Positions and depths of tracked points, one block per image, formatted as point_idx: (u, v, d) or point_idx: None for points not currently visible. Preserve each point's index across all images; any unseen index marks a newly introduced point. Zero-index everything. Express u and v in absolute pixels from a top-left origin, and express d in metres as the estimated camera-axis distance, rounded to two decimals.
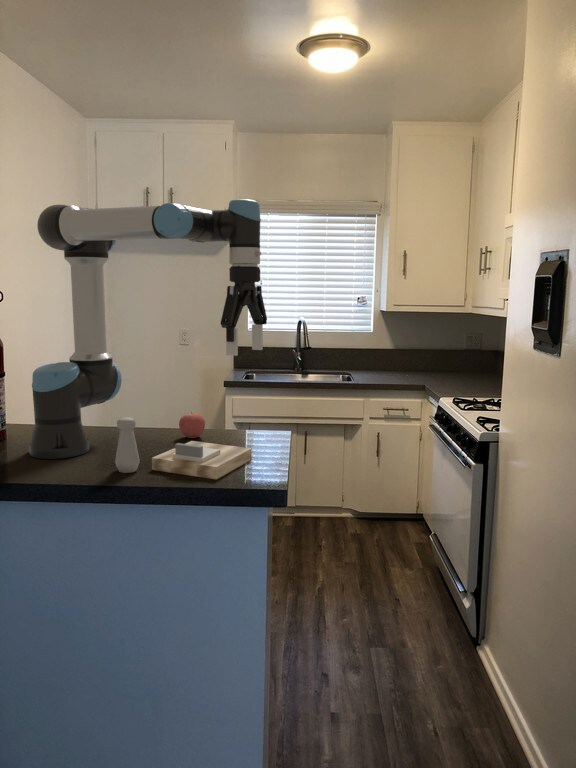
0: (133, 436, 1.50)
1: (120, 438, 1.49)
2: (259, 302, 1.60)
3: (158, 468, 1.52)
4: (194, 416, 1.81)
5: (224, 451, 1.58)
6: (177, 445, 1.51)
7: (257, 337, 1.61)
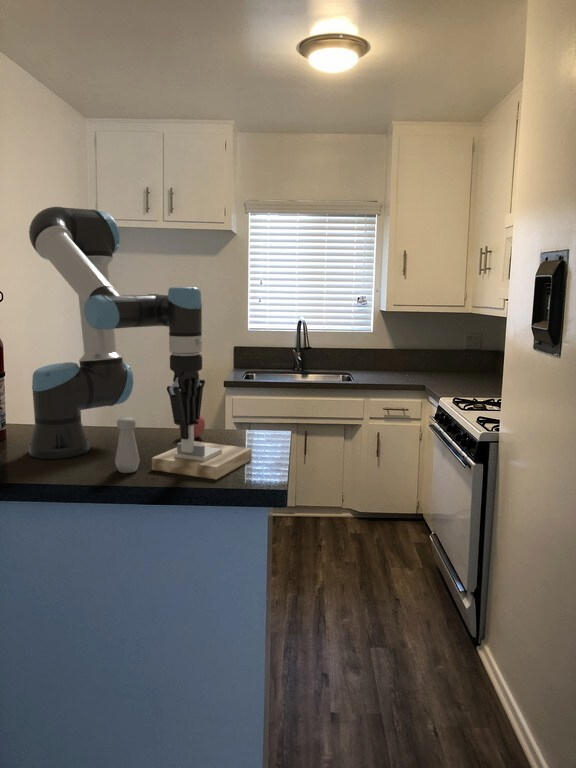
0: (133, 436, 1.50)
1: (120, 438, 1.49)
2: (197, 395, 1.51)
3: (158, 468, 1.52)
4: None
5: (224, 451, 1.58)
6: (179, 444, 1.52)
7: None
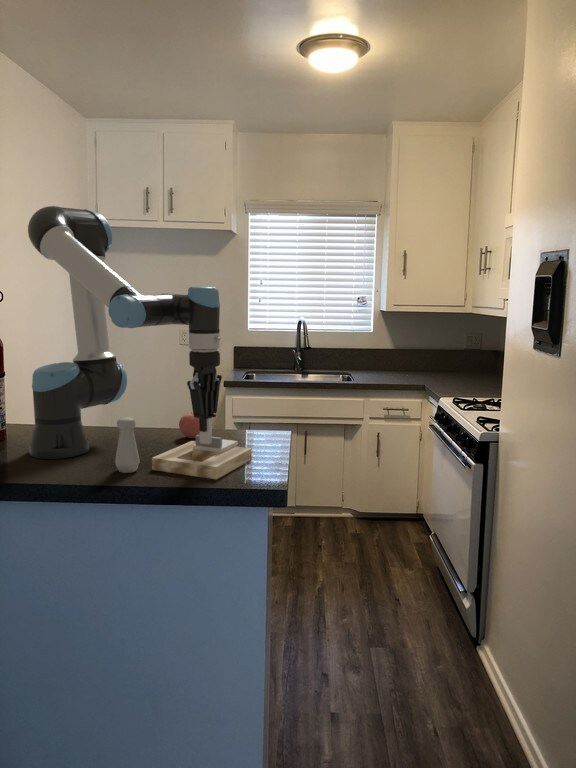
0: (133, 436, 1.50)
1: (120, 438, 1.49)
2: (215, 390, 1.59)
3: (158, 468, 1.52)
4: None
5: (224, 451, 1.58)
6: (197, 437, 1.59)
7: None
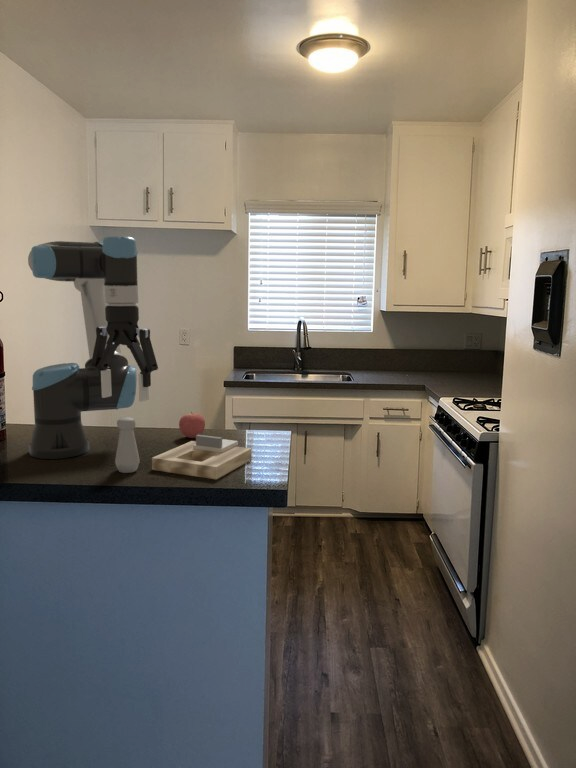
0: (133, 436, 1.50)
1: (120, 438, 1.49)
2: None
3: (158, 468, 1.52)
4: (194, 416, 1.81)
5: (224, 451, 1.58)
6: (197, 436, 1.60)
7: None
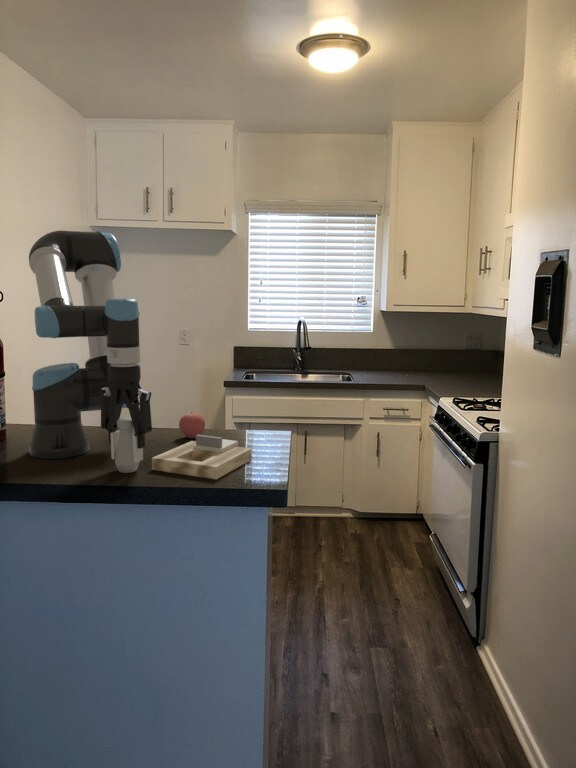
0: None
1: (120, 438, 1.49)
2: None
3: (158, 468, 1.52)
4: (194, 416, 1.81)
5: (224, 451, 1.58)
6: (197, 436, 1.60)
7: None
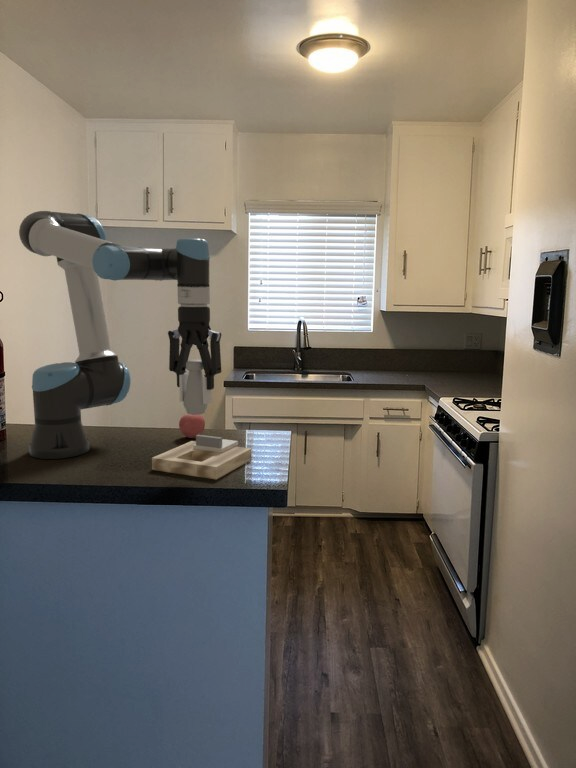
0: (202, 378, 1.51)
1: (189, 379, 1.50)
2: None
3: (158, 468, 1.52)
4: (194, 416, 1.81)
5: (224, 451, 1.58)
6: (197, 436, 1.60)
7: None
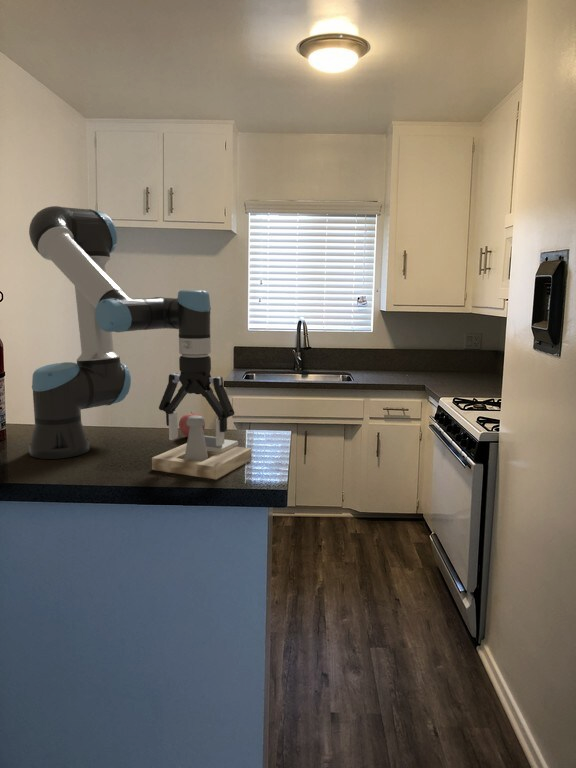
0: (202, 434, 1.53)
1: (190, 436, 1.52)
2: None
3: (158, 468, 1.52)
4: None
5: (224, 451, 1.58)
6: None
7: None
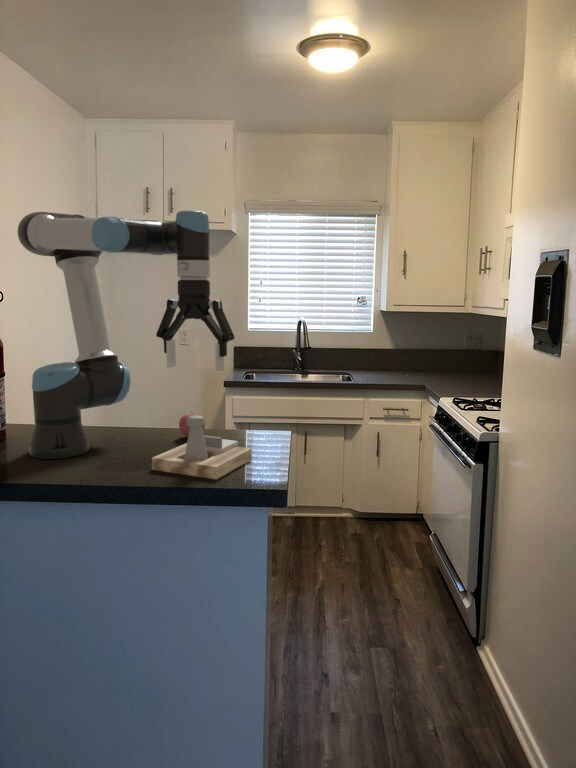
0: (202, 434, 1.53)
1: (190, 436, 1.52)
2: None
3: (158, 468, 1.52)
4: None
5: (224, 451, 1.58)
6: None
7: None
